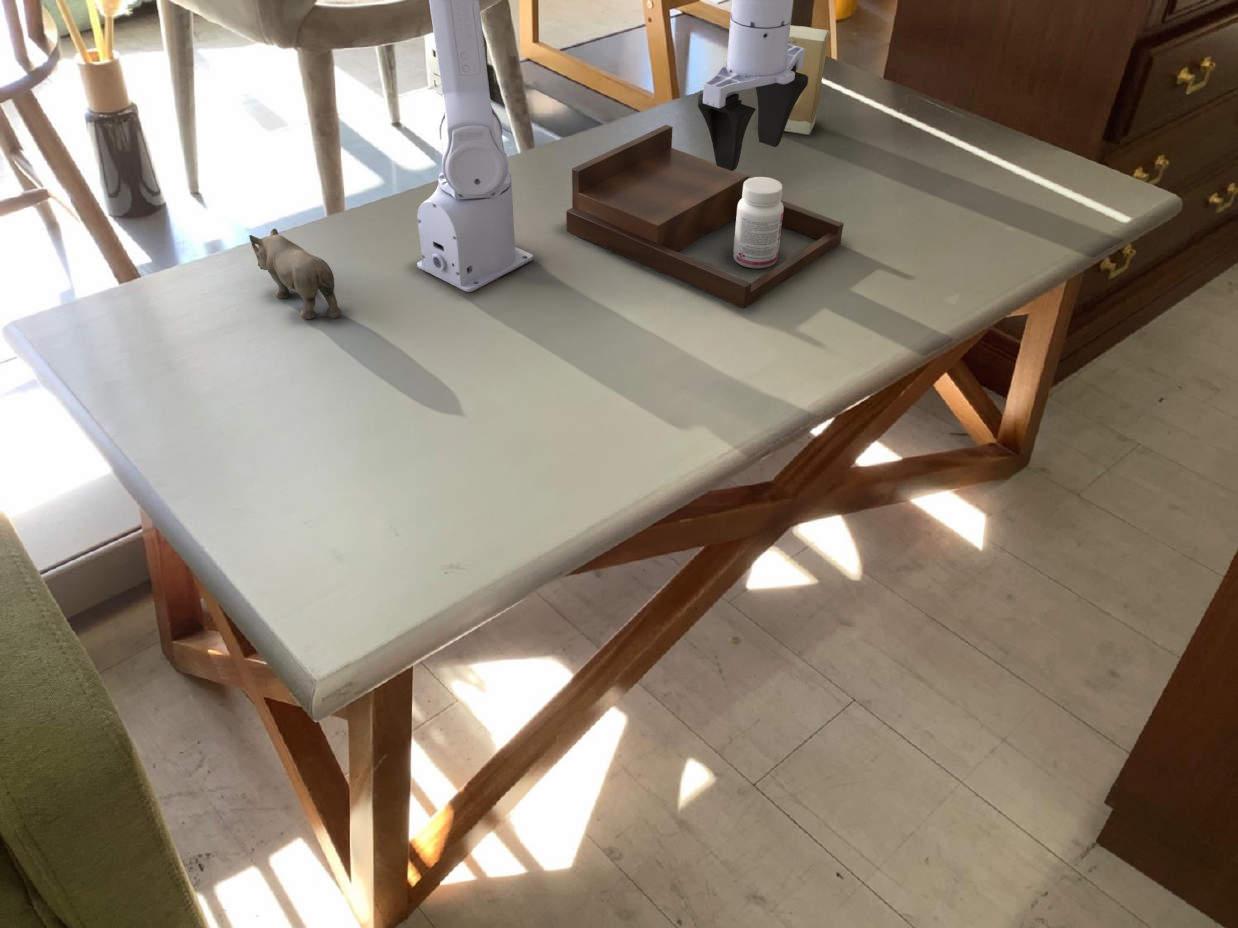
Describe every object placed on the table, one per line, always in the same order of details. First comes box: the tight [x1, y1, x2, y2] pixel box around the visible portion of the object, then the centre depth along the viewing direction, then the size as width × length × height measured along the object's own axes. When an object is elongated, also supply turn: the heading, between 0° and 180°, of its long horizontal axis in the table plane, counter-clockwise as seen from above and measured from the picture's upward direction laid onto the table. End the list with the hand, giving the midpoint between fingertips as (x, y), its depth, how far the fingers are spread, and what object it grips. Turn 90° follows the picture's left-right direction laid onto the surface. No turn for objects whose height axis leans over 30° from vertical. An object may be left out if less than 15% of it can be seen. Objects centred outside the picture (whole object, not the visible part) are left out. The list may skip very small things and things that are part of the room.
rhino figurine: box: [248, 227, 343, 320], centre depth 109 cm, size 4×14×6 cm, turn 43°
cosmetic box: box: [784, 24, 831, 136], centre depth 141 cm, size 6×4×12 cm
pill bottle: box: [732, 176, 784, 269], centre depth 115 cm, size 5×5×8 cm
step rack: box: [565, 124, 844, 309], centre depth 119 cm, size 18×24×7 cm
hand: (747, 155), depth 113 cm, fingers open, 7 cm apart
